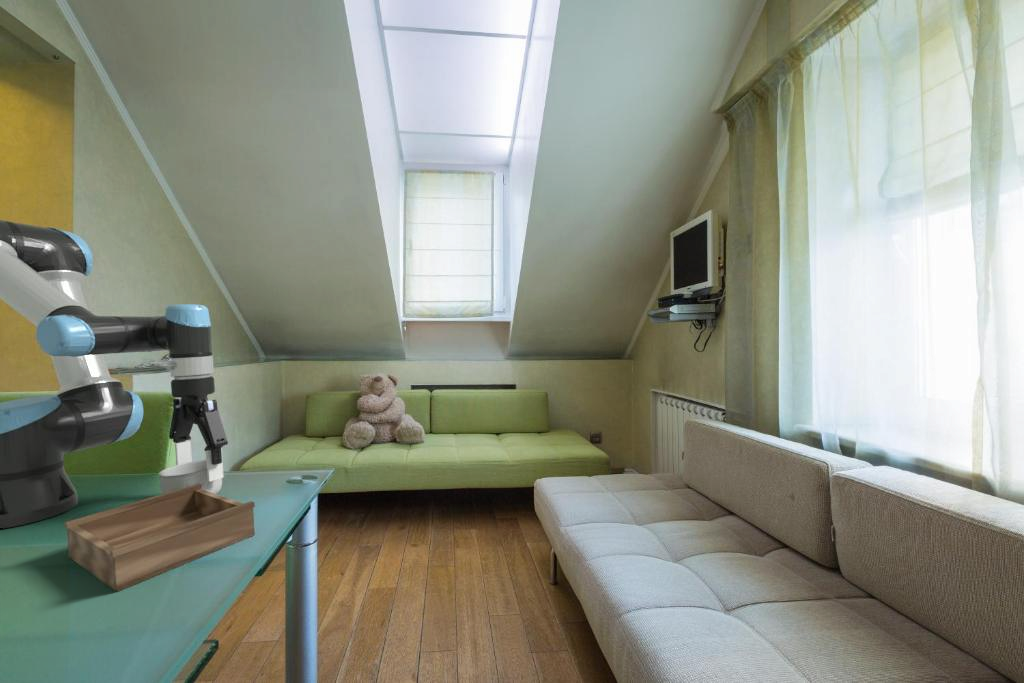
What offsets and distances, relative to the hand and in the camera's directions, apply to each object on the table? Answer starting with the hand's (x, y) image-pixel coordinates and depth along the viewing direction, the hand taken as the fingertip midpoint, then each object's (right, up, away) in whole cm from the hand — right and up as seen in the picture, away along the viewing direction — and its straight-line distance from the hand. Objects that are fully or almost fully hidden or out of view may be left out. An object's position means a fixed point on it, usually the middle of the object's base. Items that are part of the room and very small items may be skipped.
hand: (199, 475), depth 95 cm
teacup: (0, -6, 0) cm, 6 cm away
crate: (+8, -6, -20) cm, 23 cm away
